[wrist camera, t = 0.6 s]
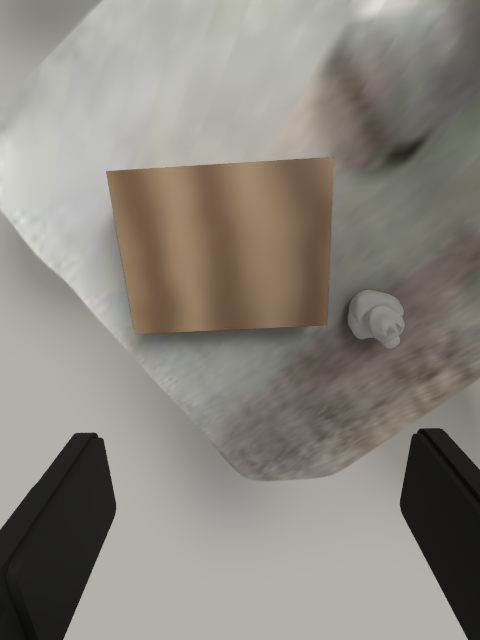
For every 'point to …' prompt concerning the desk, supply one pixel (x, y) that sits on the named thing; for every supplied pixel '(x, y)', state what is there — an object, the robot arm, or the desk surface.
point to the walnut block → (225, 244)
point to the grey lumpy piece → (376, 317)
